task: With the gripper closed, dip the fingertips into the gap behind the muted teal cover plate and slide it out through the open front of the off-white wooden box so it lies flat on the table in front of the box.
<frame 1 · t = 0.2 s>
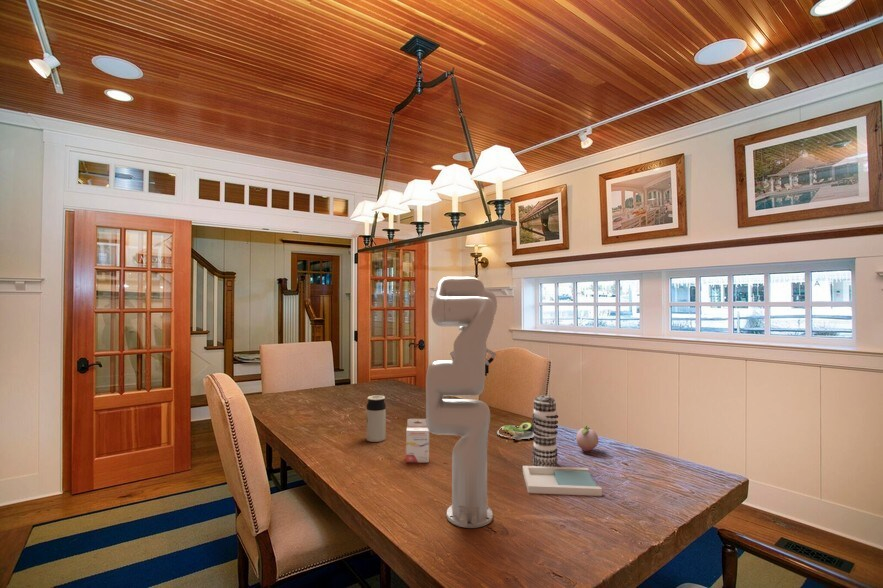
hand: (473, 375, 161), 31 cm above the table, tool pointing down, fingers open, 9 cm apart
white box: (562, 486, 135), on the table
ink cartridge box: (417, 460, 157), on the table
cover plate: (575, 483, 135), point 1 cm above the table, touching white box
decorative fruit: (587, 452, 166), on the table
travel mug: (376, 440, 181), on the table
salad plate: (518, 435, 189), on the table
decorative candle: (545, 468, 150), on the table
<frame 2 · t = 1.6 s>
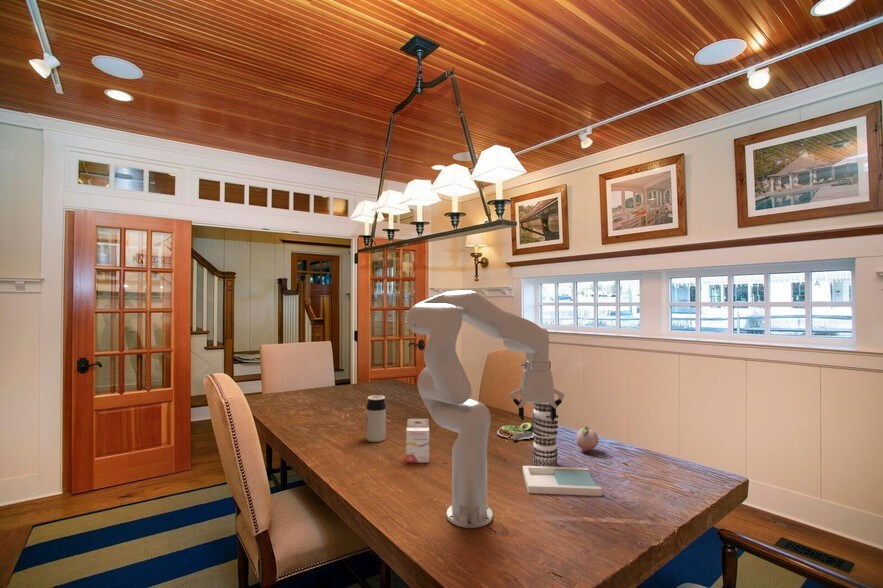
hand: (537, 419, 137), 21 cm above the table, tool pointing down, fingers open, 9 cm apart
nothing on the table moved.
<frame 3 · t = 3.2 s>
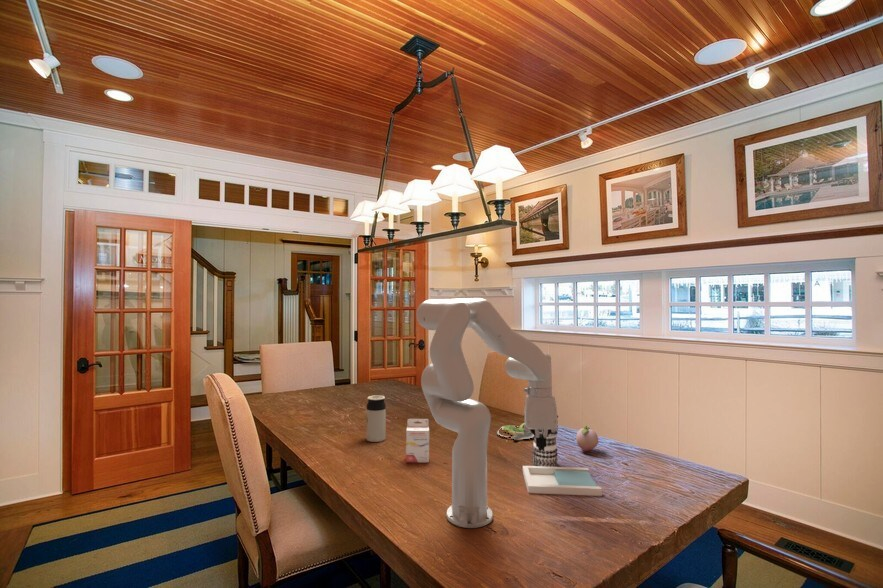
hand: (541, 448, 136), 11 cm above the table, tool pointing down, fingers closed
nothing on the table moved.
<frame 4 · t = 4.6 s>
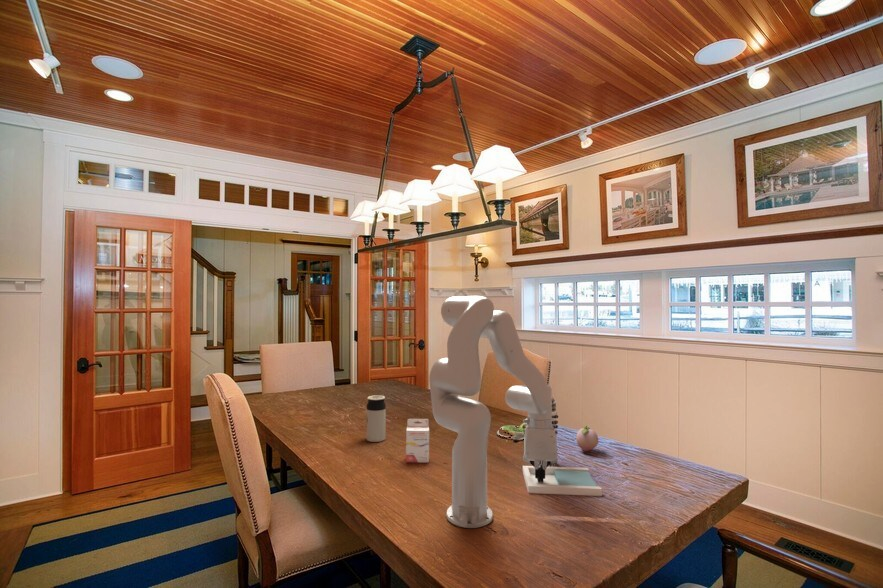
hand: (540, 480, 136), 2 cm above the table, tool pointing down, fingers closed
nothing on the table moved.
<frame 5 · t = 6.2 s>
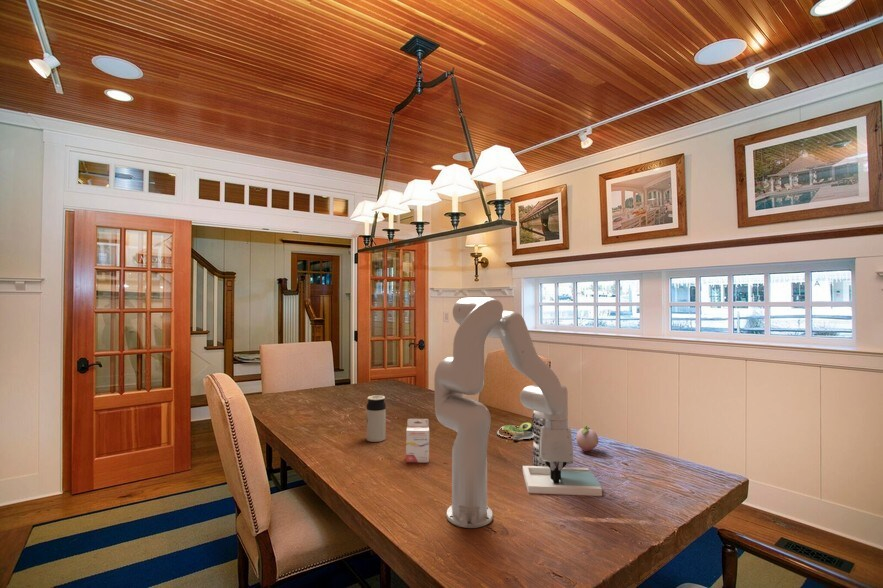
hand: (555, 481, 135), 1 cm above the table, tool pointing down, fingers closed
cover plate: (578, 483, 134), point 1 cm above the table, touching gripper
everything else where it was.
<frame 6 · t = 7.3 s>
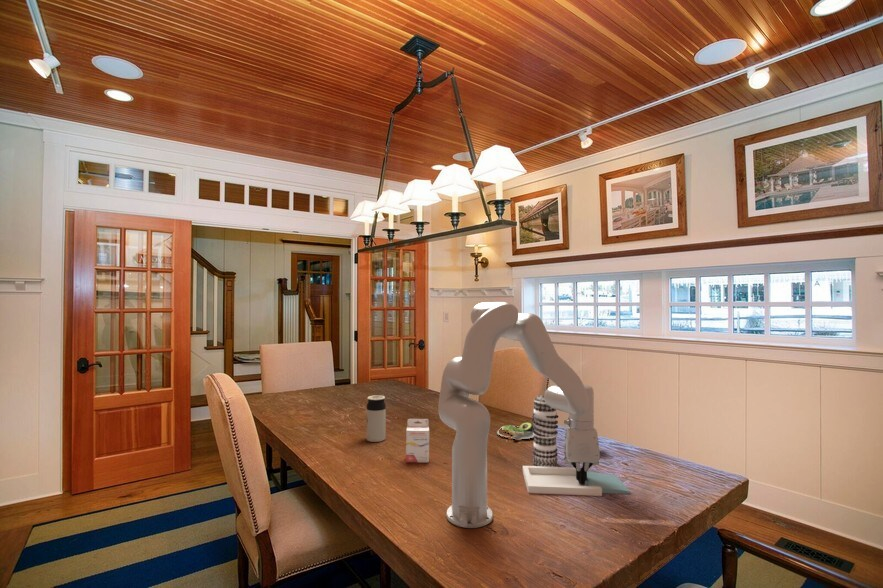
hand: (581, 482, 135), 1 cm above the table, tool pointing down, fingers closed
cover plate: (604, 485, 134), point 1 cm above the table, tilted 6°, touching white box
everything else where it was.
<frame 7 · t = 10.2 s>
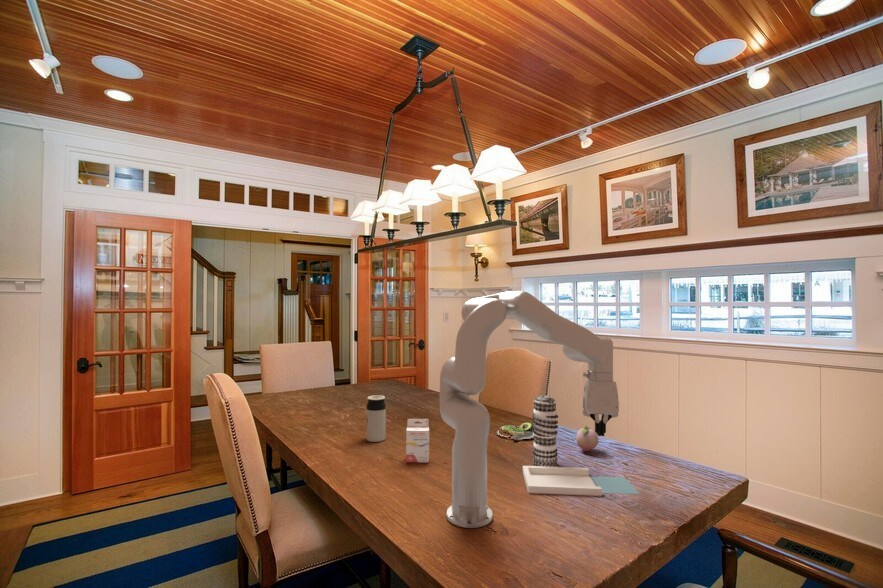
hand: (600, 434, 134), 17 cm above the table, tool pointing down, fingers closed
cover plate: (614, 489, 134), on the table
everything else where it was.
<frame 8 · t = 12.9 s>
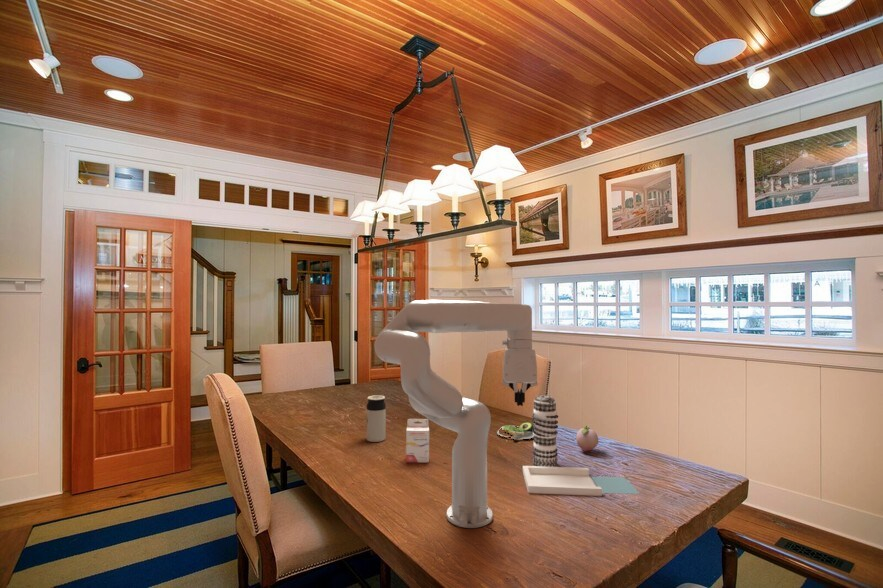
hand: (519, 404, 130), 27 cm above the table, tool pointing down, fingers closed
nothing on the table moved.
at the end: cover plate inside the target area (5.5 cm from its centre), on the table; cover plate tilted 0°; cover plate touching table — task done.
